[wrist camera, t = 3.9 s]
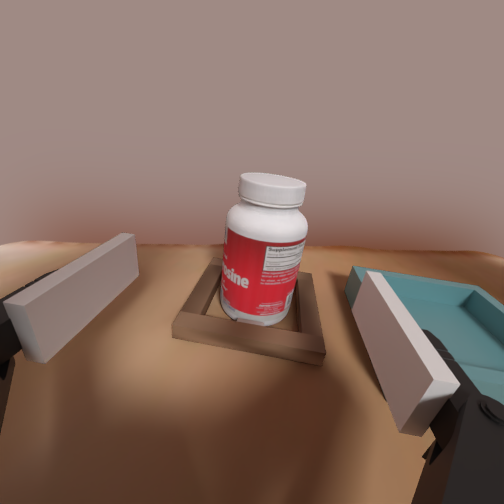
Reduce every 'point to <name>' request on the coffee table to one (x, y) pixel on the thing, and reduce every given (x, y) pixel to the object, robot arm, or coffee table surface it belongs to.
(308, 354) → the bottle holder
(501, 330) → the tray
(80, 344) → the coffee table surface
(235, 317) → the pill bottle
